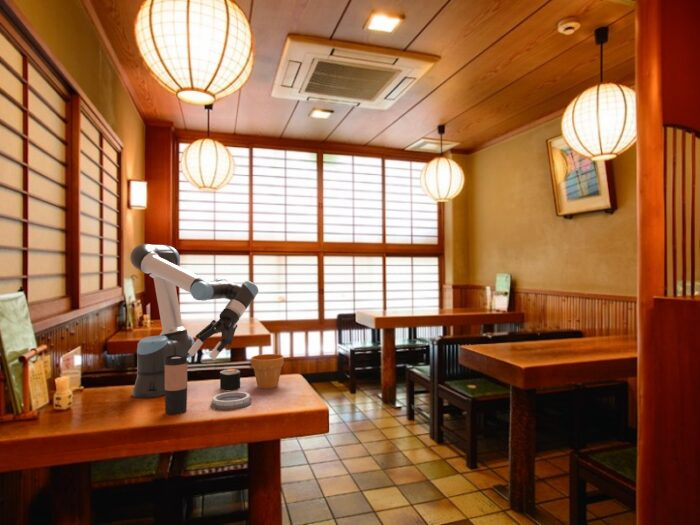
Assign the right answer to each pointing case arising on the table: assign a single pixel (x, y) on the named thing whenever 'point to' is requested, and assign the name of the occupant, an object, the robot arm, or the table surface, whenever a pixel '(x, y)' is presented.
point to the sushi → (229, 379)
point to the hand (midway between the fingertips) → (200, 356)
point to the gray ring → (231, 400)
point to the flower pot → (267, 369)
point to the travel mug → (175, 384)
